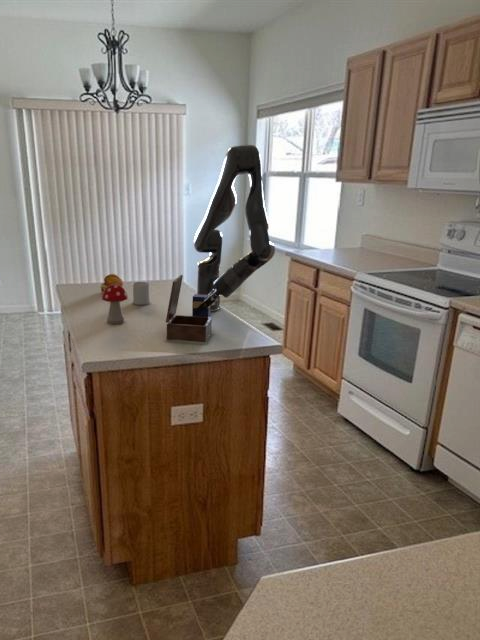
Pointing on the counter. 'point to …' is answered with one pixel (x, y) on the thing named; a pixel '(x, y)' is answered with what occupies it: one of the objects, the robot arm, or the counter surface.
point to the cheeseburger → (111, 281)
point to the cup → (141, 293)
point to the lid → (174, 298)
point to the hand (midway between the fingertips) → (196, 312)
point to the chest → (189, 328)
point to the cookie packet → (196, 303)
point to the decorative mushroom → (114, 302)
